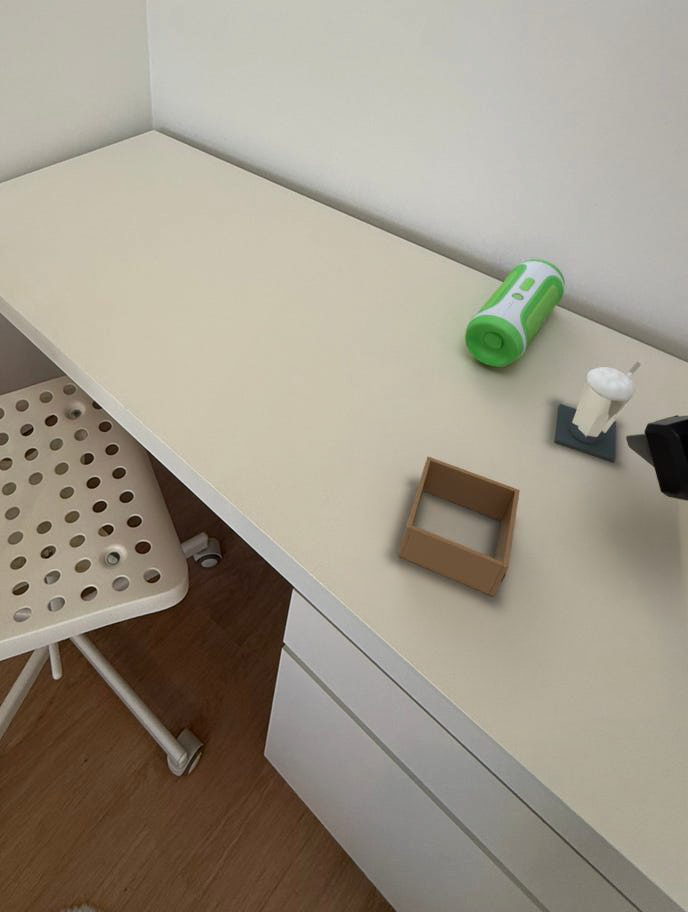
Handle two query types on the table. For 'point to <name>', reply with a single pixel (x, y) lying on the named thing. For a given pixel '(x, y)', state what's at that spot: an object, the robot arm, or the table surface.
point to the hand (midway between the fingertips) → (666, 430)
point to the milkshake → (601, 402)
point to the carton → (449, 554)
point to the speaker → (515, 313)
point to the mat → (565, 437)
